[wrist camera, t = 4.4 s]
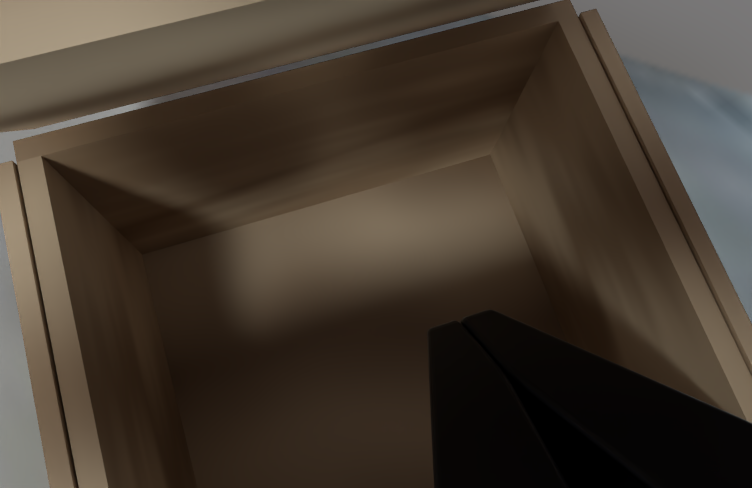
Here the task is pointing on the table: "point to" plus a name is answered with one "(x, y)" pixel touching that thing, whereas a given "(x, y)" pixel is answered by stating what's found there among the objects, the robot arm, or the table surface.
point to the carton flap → (180, 45)
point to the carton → (351, 256)
